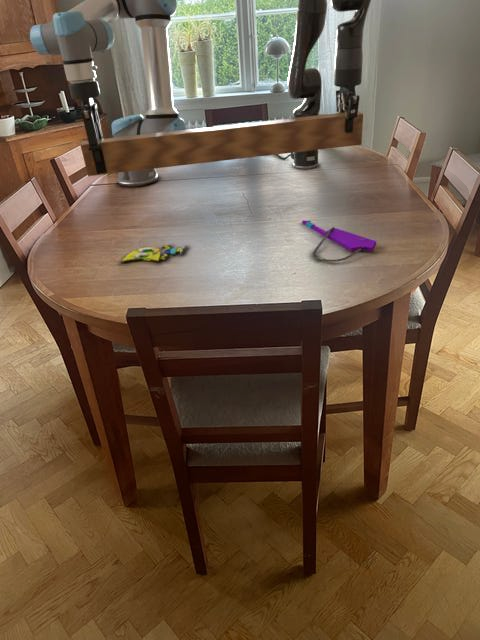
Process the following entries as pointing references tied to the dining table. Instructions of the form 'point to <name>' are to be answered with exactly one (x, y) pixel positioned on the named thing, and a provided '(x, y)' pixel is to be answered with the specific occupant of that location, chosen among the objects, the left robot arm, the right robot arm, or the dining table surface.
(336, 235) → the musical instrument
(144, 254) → the toy
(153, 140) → the post
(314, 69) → the right robot arm
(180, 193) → the dining table surface
